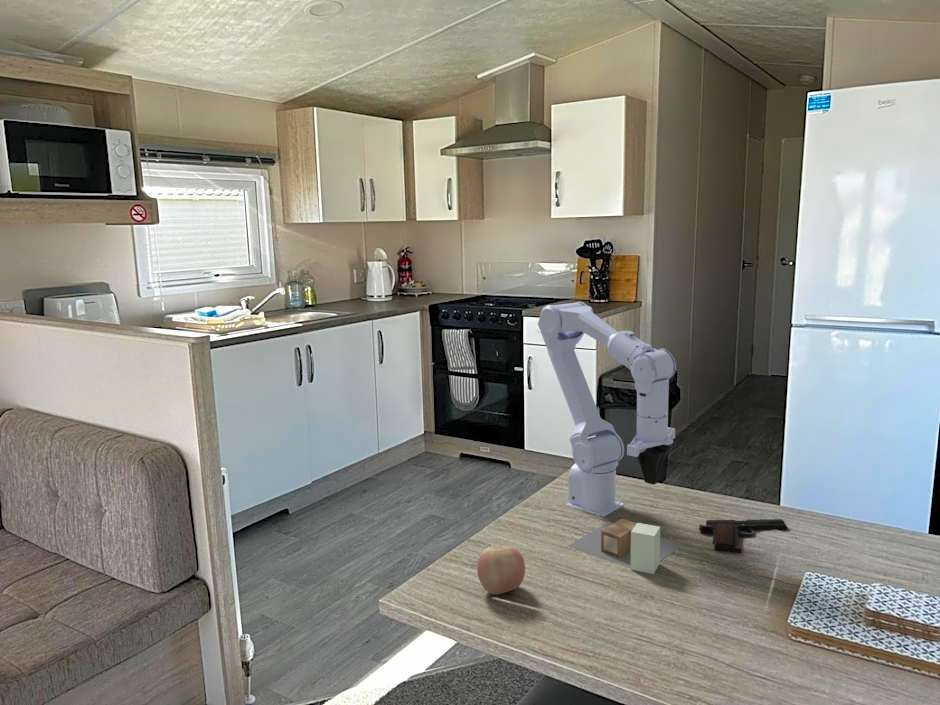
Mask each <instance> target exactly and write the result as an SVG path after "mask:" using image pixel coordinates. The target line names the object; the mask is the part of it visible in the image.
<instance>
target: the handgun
mask: <svg viewBox="0 0 940 705" xmlns="http://www.w3.org/2000/svg"><path fill="white" fill-rule="evenodd" d="M787 529H788V526H787V524H786V522H785V521H784V519H781V518H778V519H777V518H776V519H772V518H771V519H770V518H769V519H768V518H767V519H761V518H760V519H746V520H736V519H707V520H706V522H705V524H699V527H698V531H700V532H699V533H700V534H711V535H712V544H713V545H714V547H713V548H714V551H716V552H721V553H722V552H723V553H731V554H739V555H740V554H742V549H741V548H740V543H739V538H751V537H753V536H754V535H755V531H756V532H757V531H770V530H776V531H787ZM745 532H746V533H745Z"/></svg>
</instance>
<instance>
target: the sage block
mask: <svg viewBox="0 0 940 705" xmlns="http://www.w3.org/2000/svg"><path fill="white" fill-rule="evenodd" d="M636 523H637V524H636V525H635V527H634V528H633V530H632V531H631V566H630V568H629V569H630V570H631V571H636V572H639V571H640V572H639V573H642V572H645V573H644V574H649V575H654V574H655V573H656V571H657V569H658V567H659V566H660V562H661V561H660V537H661V526H659V525H652V524H645V523H641V522H636Z"/></svg>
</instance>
